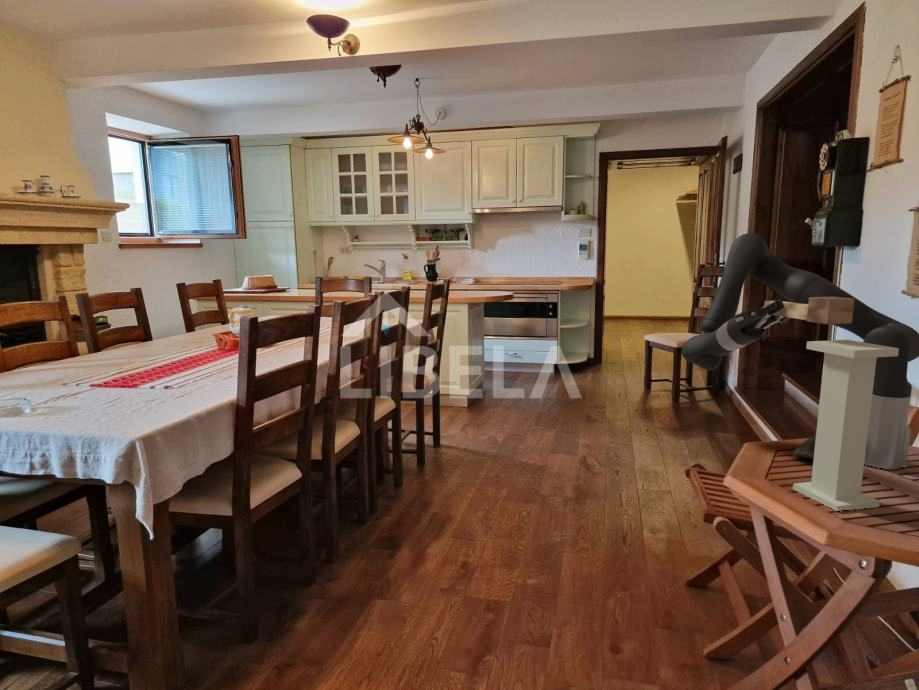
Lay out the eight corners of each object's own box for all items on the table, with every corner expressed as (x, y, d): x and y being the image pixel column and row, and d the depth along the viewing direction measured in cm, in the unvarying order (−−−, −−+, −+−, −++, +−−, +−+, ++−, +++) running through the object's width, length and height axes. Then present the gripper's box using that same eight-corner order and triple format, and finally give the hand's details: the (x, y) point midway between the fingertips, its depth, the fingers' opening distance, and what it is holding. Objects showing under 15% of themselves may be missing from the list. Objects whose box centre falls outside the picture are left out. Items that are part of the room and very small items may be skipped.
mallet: (758, 313, 130) (759, 292, 129) (780, 313, 131) (782, 291, 130) (826, 324, 112) (829, 299, 111) (851, 323, 113) (854, 298, 112)
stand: (792, 488, 119) (807, 341, 114) (832, 484, 121) (847, 339, 116) (836, 511, 109) (854, 350, 103) (879, 506, 111) (898, 348, 106)
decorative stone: (818, 468, 131) (820, 451, 131) (789, 461, 136) (790, 444, 135) (842, 451, 142) (844, 435, 141) (814, 445, 147) (815, 430, 146)
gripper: (710, 318, 140) (756, 288, 125) (759, 317, 143) (809, 287, 127) (718, 346, 138) (766, 319, 122) (767, 344, 141) (820, 317, 125)
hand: (788, 303), depth 125 cm, fingers closed on mallet, 3 cm apart
